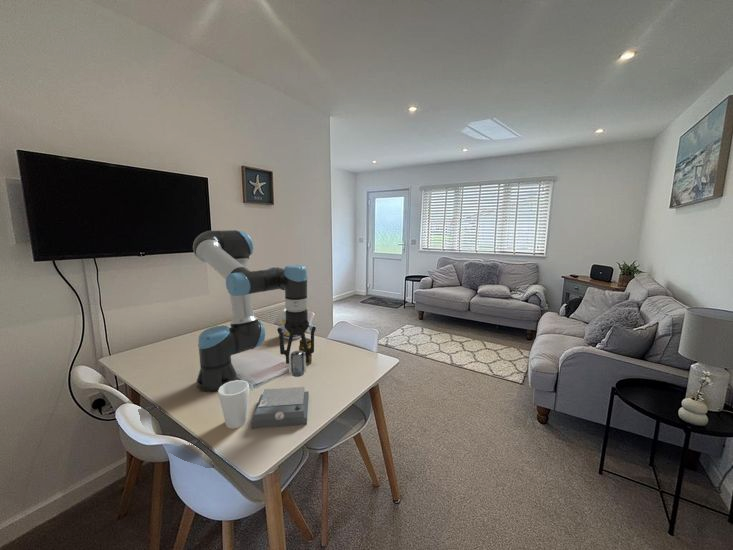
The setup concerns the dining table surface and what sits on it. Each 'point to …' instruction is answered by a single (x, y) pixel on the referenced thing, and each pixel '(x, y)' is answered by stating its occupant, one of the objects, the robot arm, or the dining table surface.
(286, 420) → the scale base
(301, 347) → the condiment
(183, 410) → the dining table surface
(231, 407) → the foam cup
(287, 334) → the supplement tub
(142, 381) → the dining table surface
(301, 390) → the scale weighing pan
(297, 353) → the cylinder
